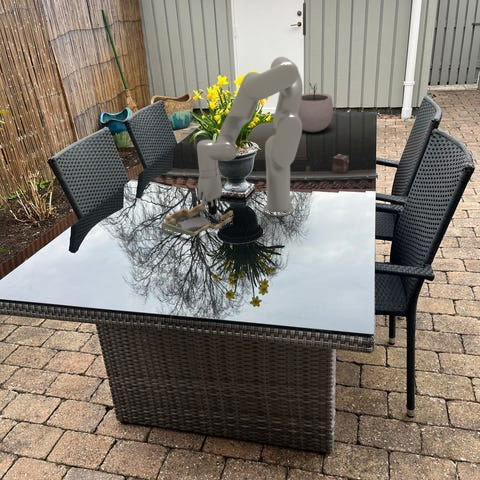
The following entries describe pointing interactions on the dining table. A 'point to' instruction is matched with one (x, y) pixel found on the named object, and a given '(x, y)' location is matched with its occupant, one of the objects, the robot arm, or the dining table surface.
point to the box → (340, 163)
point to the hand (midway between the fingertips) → (212, 213)
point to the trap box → (185, 214)
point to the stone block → (193, 223)
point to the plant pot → (315, 111)
